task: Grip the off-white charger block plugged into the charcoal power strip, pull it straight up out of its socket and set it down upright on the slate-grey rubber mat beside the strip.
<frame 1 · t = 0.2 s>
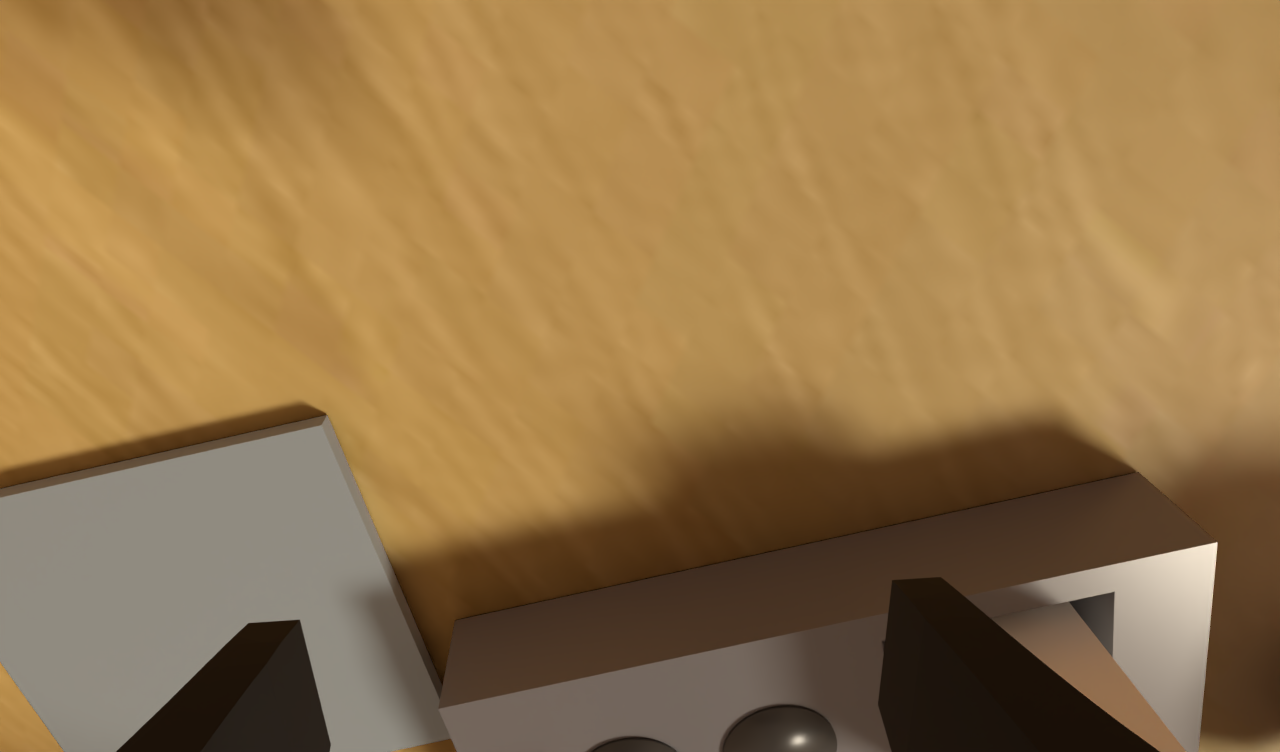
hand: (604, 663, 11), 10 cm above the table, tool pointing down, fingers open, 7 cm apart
power strip: (809, 648, 24), on the table
mat: (210, 625, 22), on the table
charger: (967, 643, 23), point 1 cm above the table, touching power strip
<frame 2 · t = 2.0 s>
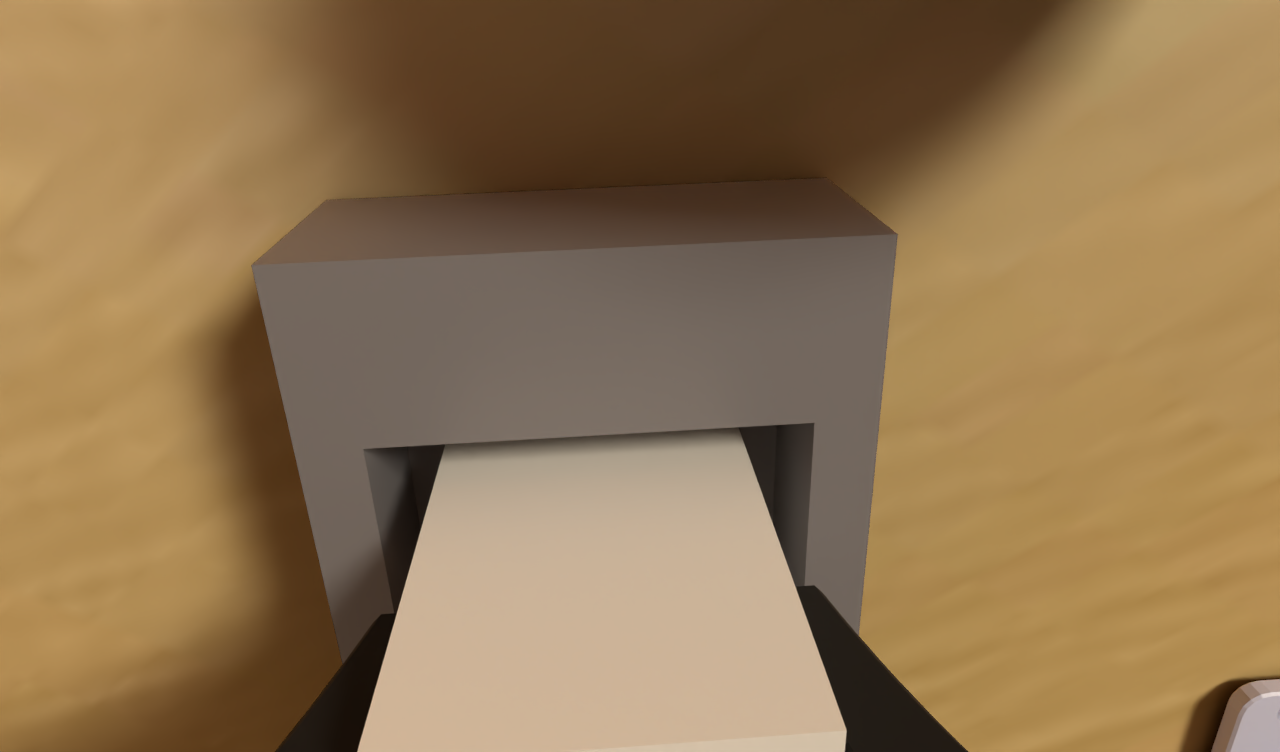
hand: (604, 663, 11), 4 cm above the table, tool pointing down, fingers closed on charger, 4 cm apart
power strip: (609, 677, 16), on the table
charger: (599, 527, 13), point 1 cm above the table, touching gripper, power strip
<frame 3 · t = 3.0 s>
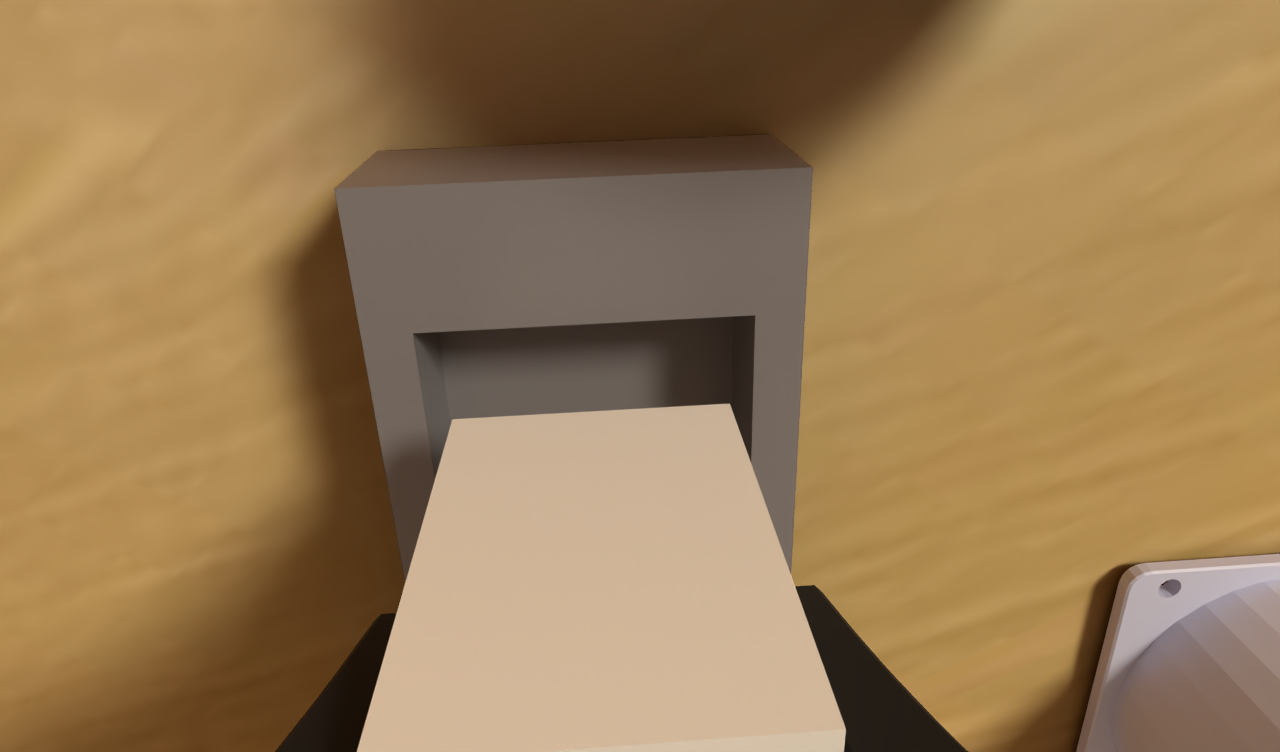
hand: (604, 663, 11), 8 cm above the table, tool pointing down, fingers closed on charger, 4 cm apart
power strip: (601, 556, 19), on the table
charger: (599, 527, 13), point 5 cm above the table, touching gripper
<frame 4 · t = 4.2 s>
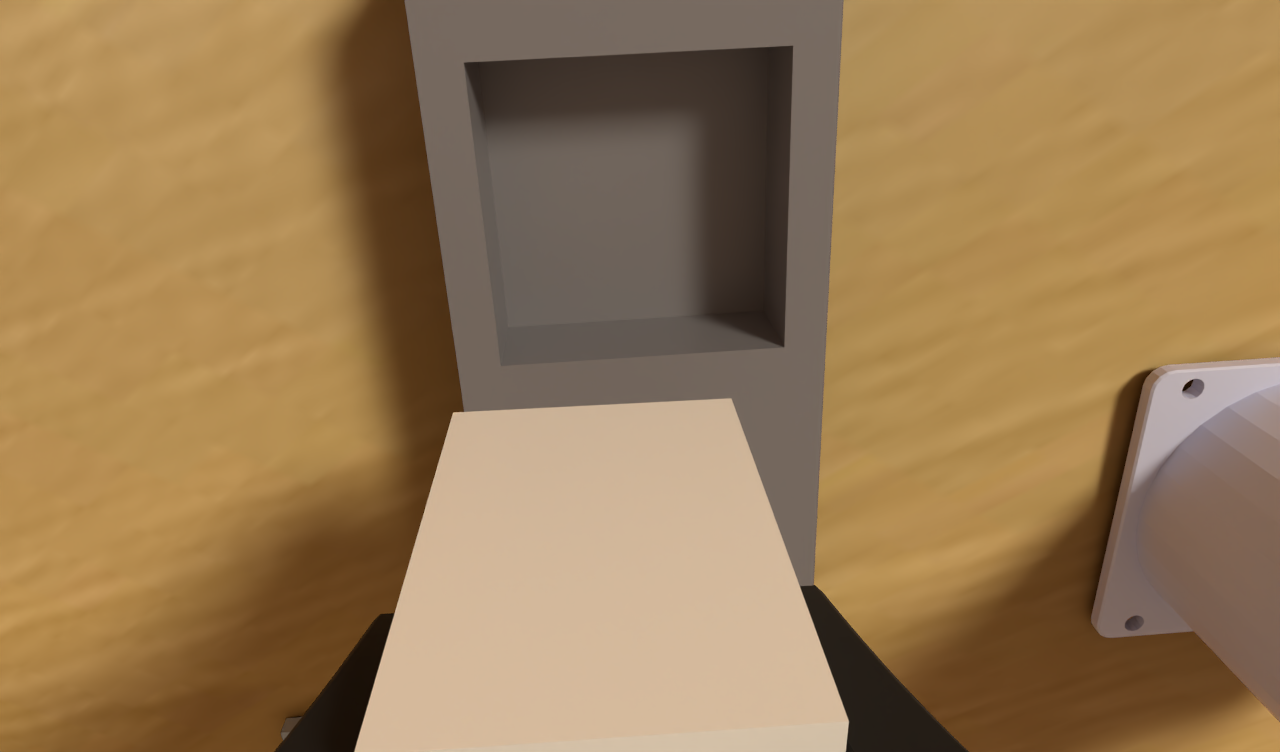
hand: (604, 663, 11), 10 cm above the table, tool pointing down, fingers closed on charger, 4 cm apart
power strip: (636, 356, 20), on the table
charger: (599, 521, 13), point 7 cm above the table, touching gripper
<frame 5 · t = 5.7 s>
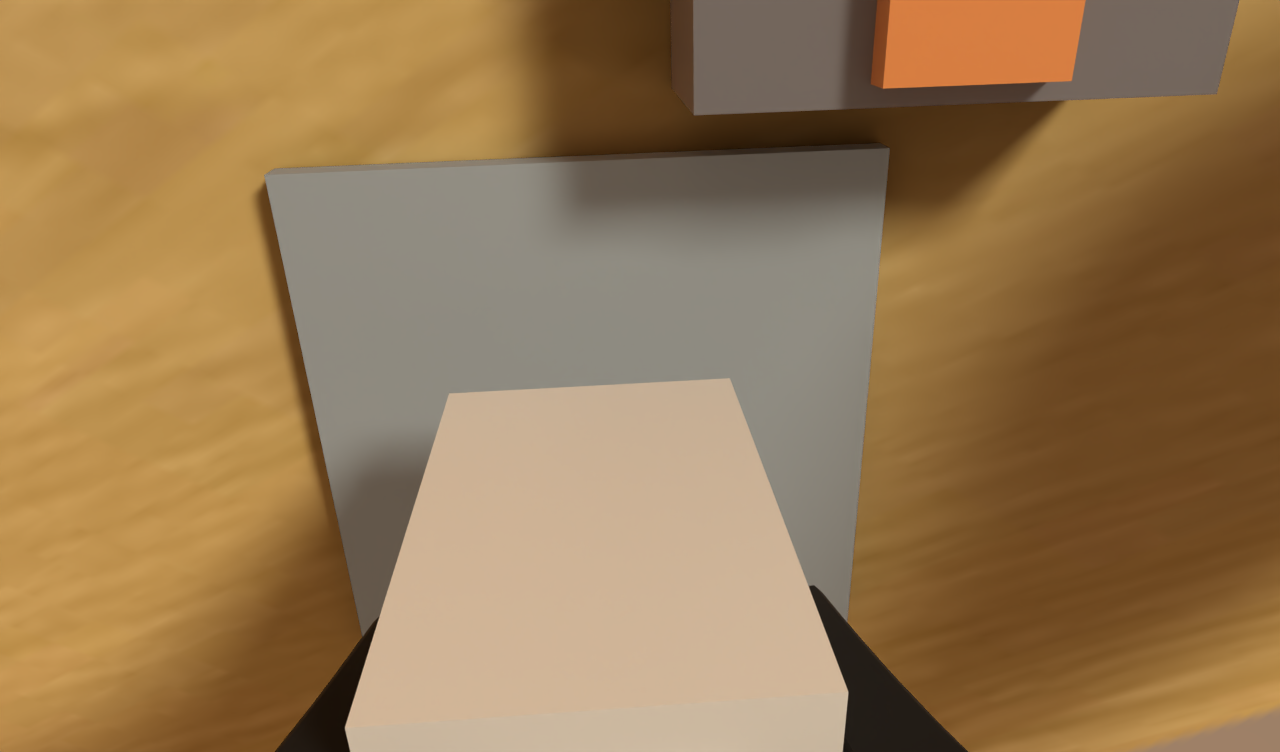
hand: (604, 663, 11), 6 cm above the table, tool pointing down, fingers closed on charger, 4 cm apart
mat: (597, 423, 16), on the table
charger: (597, 504, 13), point 3 cm above the table, touching gripper
when the fingers open (5 cm above the table, at t = 6.8 s): charger drops 1 cm, resting on mat.
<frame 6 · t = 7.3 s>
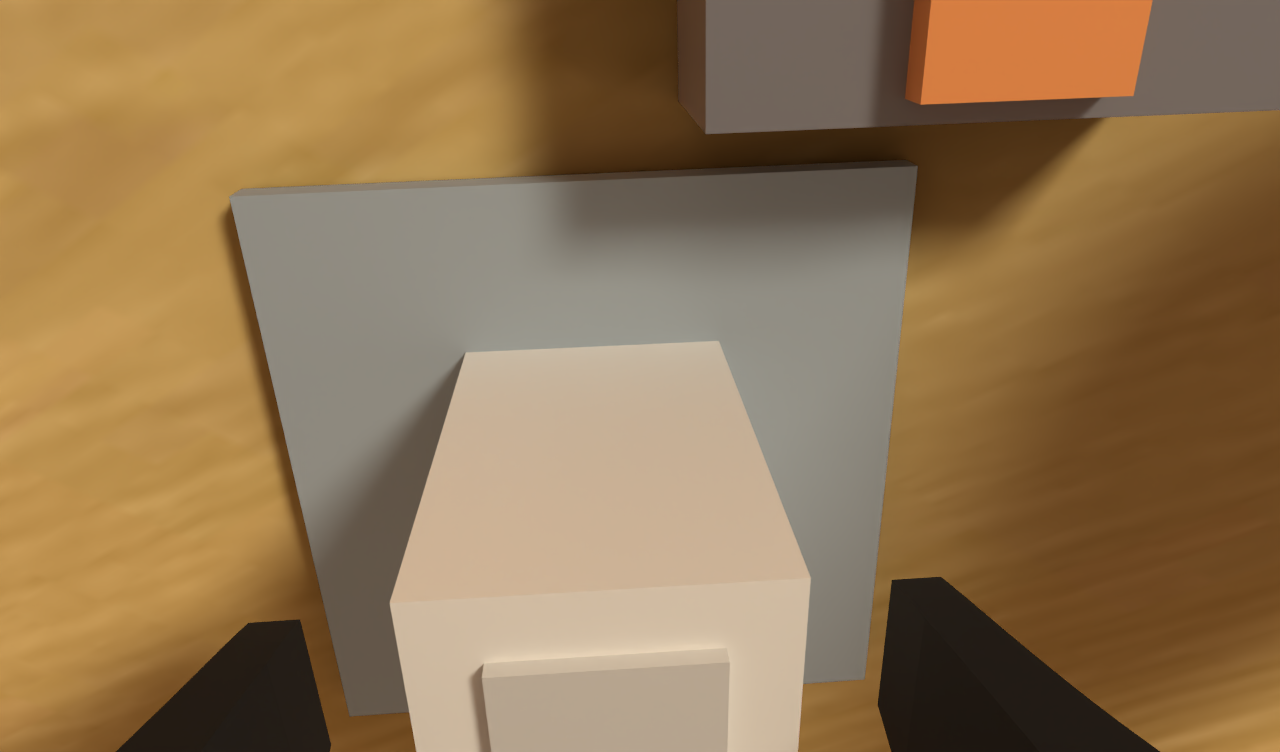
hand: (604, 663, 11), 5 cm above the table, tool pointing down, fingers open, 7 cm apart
mat: (596, 461, 15), on the table
charger: (598, 456, 14), resting on mat
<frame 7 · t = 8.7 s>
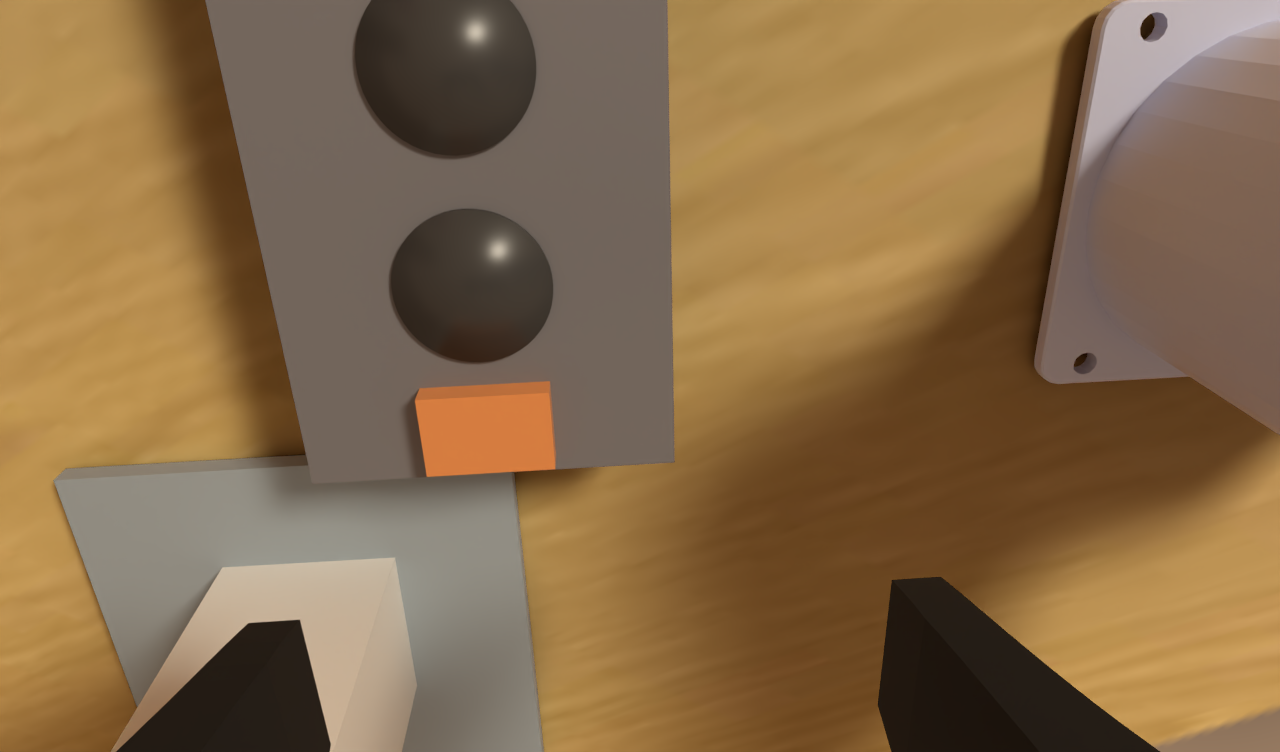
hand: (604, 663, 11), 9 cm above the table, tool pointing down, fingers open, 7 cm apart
mat: (330, 627, 22), on the table
charger: (323, 629, 21), resting on mat
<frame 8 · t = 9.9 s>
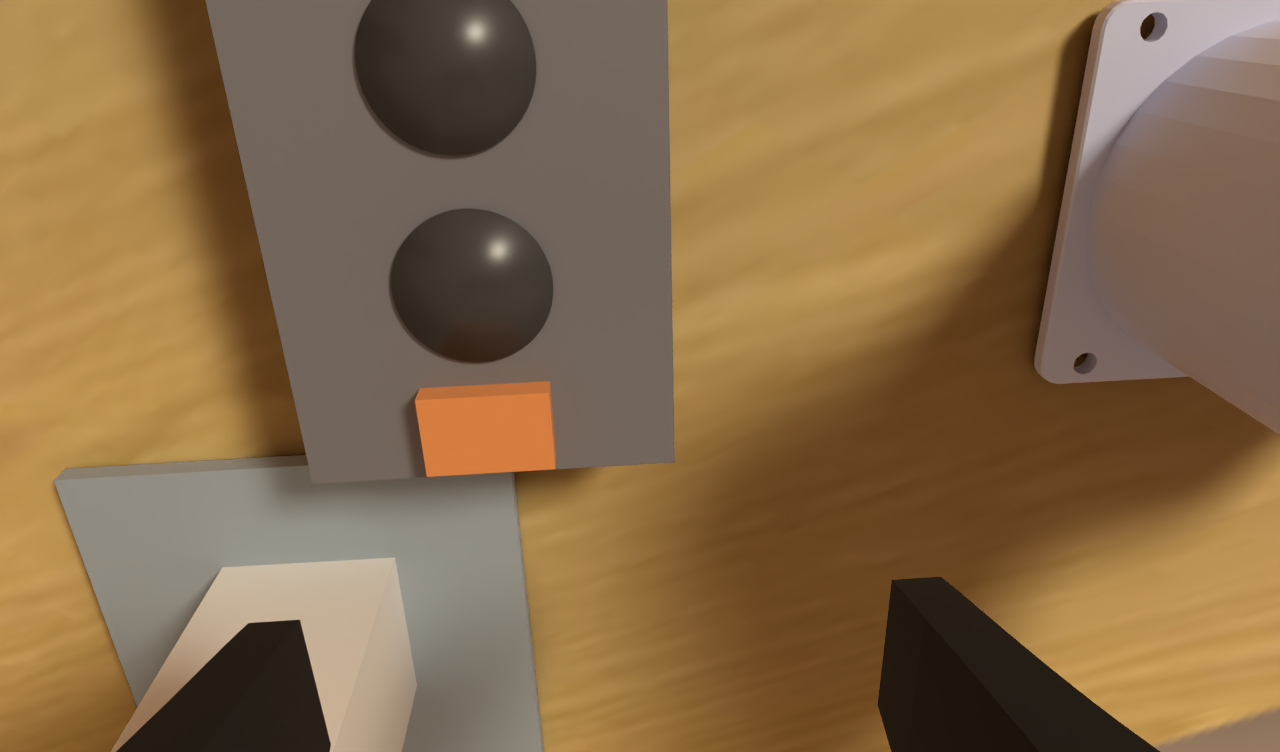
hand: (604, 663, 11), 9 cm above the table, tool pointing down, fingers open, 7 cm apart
mat: (330, 627, 22), on the table
charger: (323, 629, 21), resting on mat
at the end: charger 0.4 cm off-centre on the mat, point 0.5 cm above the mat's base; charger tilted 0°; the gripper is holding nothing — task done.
